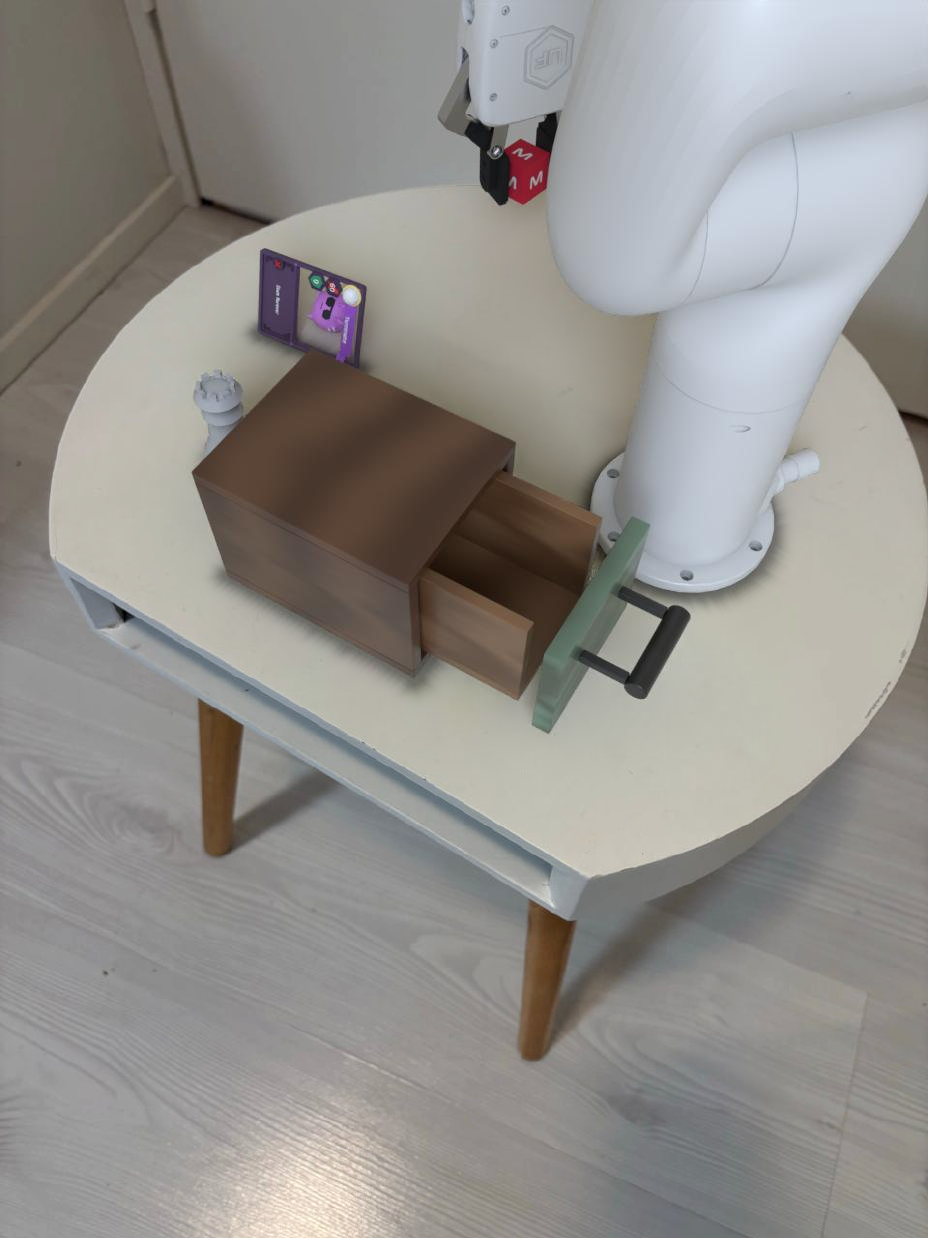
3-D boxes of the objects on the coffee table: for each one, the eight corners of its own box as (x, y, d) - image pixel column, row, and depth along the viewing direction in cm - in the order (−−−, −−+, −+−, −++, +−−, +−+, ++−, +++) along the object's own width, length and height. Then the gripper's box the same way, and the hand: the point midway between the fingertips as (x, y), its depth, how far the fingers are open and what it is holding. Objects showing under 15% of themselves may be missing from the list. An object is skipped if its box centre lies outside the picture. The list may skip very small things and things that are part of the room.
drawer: (687, 636, 62) (720, 556, 54) (613, 769, 57) (638, 702, 49) (447, 518, 66) (447, 429, 58) (360, 632, 61) (348, 551, 54)
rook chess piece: (258, 493, 68) (236, 414, 61) (197, 482, 69) (169, 403, 62) (276, 446, 70) (258, 364, 64) (218, 436, 71) (194, 354, 64)
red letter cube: (547, 188, 77) (550, 152, 75) (523, 205, 76) (525, 169, 73) (518, 173, 78) (520, 137, 76) (494, 190, 77) (495, 154, 74)
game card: (254, 250, 71) (359, 290, 69) (293, 233, 75) (394, 269, 73) (252, 335, 76) (350, 374, 74) (289, 314, 80) (384, 351, 78)
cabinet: (507, 547, 66) (516, 441, 57) (414, 678, 61) (408, 585, 52) (329, 460, 70) (311, 347, 61) (227, 576, 65) (190, 471, 55)
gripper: (442, -24, 58) (446, 243, 73) (678, -78, 62) (635, 185, 77) (392, -75, 61) (406, 189, 77) (618, -123, 65) (588, 137, 81)
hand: (521, 185), depth 77 cm, fingers closed on red letter cube, 4 cm apart
